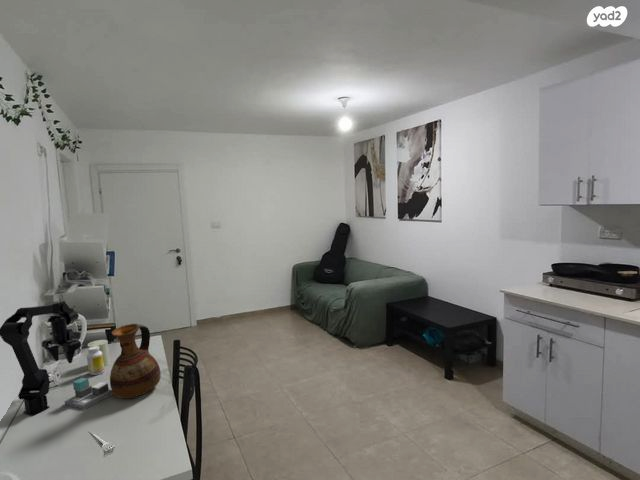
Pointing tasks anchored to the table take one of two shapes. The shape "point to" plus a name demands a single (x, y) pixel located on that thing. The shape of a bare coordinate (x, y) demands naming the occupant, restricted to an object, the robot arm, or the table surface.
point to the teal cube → (81, 384)
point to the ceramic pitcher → (133, 363)
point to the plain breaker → (100, 388)
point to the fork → (103, 442)
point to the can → (102, 349)
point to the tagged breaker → (83, 392)
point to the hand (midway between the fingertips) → (63, 361)
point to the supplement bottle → (95, 361)
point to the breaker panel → (87, 400)
